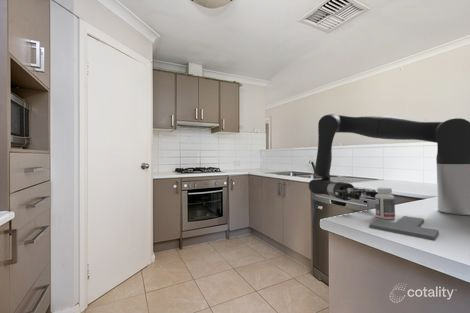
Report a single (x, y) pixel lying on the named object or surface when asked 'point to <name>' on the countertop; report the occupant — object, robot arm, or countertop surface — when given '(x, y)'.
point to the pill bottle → (385, 204)
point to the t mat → (406, 227)
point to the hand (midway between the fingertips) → (369, 196)
